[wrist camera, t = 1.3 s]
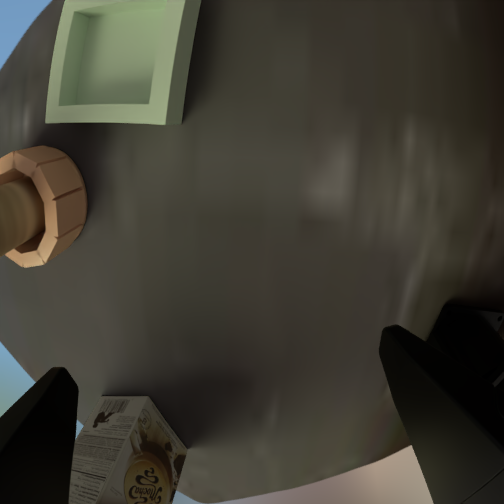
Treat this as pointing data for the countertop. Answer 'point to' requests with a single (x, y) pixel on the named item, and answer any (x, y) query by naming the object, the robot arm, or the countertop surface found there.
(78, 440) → the coffee box
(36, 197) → the dowel
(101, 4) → the tray
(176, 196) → the countertop surface
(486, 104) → the countertop surface
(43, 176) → the holder
